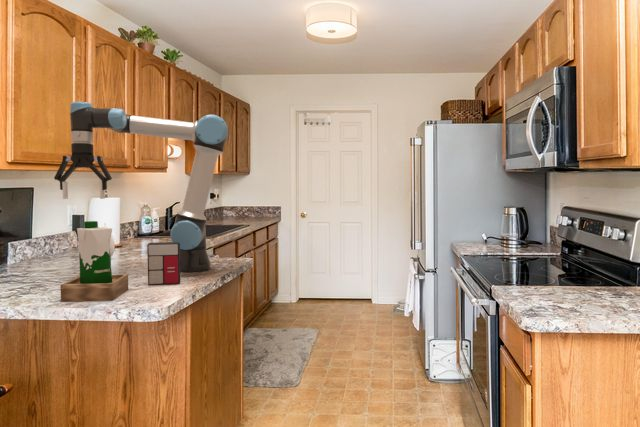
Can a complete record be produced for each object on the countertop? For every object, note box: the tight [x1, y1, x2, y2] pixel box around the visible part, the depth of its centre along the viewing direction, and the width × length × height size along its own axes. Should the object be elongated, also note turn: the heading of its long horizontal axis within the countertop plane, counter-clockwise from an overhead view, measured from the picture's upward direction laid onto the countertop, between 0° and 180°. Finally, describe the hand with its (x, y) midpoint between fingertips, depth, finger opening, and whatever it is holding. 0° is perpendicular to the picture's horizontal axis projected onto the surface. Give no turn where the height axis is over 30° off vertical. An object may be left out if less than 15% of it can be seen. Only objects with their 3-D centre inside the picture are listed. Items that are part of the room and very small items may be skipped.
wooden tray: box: [60, 274, 129, 302], centre depth 151 cm, size 16×16×5 cm
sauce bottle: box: [104, 223, 116, 258], centre depth 224 cm, size 8×8×18 cm
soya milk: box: [76, 220, 113, 284], centre depth 151 cm, size 9×9×20 cm
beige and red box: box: [146, 241, 181, 286], centre depth 169 cm, size 11×4×15 cm, turn 101°
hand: (84, 198), depth 179 cm, fingers open, 13 cm apart
